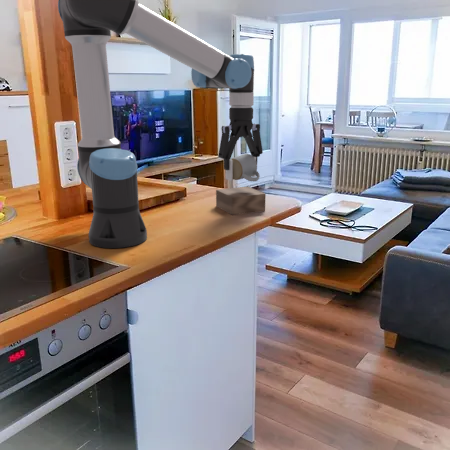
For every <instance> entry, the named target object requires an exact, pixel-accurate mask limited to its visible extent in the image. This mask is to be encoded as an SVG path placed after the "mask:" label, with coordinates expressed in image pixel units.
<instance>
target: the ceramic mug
mask: <svg viewBox="0 0 450 450" xmlns="http://www.w3.org/2000/svg"><path fill="white" fill-rule="evenodd" d="M230 160H233V177H232V181H233V180H234V181H239V180H243V179H245V180H246V181H249V182H258V181H259V179H260V177H261V176H260V172H259V171H258V162H257V163H256V160H255V159H254V157H253V156H252V155H251V153H250V154H249V153H243V154H240V155H237V156H234V157H231V158H230ZM254 175H256V177H252V176H254Z"/></svg>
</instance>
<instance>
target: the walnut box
mask: <svg viewBox="0 0 450 450" xmlns="http://www.w3.org/2000/svg"><path fill="white" fill-rule="evenodd" d="M215 195H216V196H215V197H216V198H215V199H216V200H215V201H216V202H215V203H216V204H215V205H216V206H215V207H217V208H218V209H220V210H222V211H224V212H226V213H228V214H229V215H232V216H236V215H237V216H238V215H243V214H251V213H259V212H266V196H267V195H266V193H265V192H262V191H260V190H258V189H255V188H253V187H250V186H242V187H229V188H220V189H215Z"/></svg>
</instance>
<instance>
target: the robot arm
mask: <svg viewBox="0 0 450 450" xmlns="http://www.w3.org/2000/svg"><path fill="white" fill-rule="evenodd" d="M57 8H58V13H59V17H60V20H61V21H62V24H63V33H64V38H65V40H66V41H67V42H68V43H70V45H71V50H72V58H73V59H72V60H73V67H74V75H75V84H76V92H77V101H78V103H77V104H78V109H79V110H78V111H79V119H80V129H81V130H80V131H81V137H82V138H81V139H80V140H79V142H77V145H76V146H77V151H78V159H77V166H76V169H77V173H78V176H79V178H80V179H81V181H82V183H84V184H85V185H86V186H87V187H89V188H90V189H91V195H92V205H93V215H92V219H91V222H90V227H89V229H88V230H89V231H88V242H89V244H90V245H92V246H94V247H96V248H103V249H121V248H122V249H123V248H129V247H134V246H137V245H140V244H142V243H143V242H145V241H146V240H147V238H148V231H147V228H146V225H145V222H144V220H143V217H142V214H141V212H140V206H139V205H140V204H139V188H138V187H139V186H138V185H139V184H138V164H137V158H136V156H135V154H134V153H133V152H131V150H127V149H122V146H121V141H120V140H119V139H118V138H117V137H116V136H115V131H114V130H115V129H114V118H113V117H114V116H113V109H112V100H111V99H112V97H111V88H110V77H109V74H110V73H109V68H108V67H109V65H108V54H107V43H108V42H109V41H110V40H111V39H112V34H111V31H112V32H113V33H115V34H117V35H120V36H121V35H124V34H126V35H129V36H131V37H133V38H134V39H136V40H137V41H140V42H141V43H143V44H146V45H147V46H149V47H151V48H153V49H155V50H156V51H159V52H160V53H162V54H164V55H166V56H168V57H170V58H172V59H173V60H175V61H177V62H180V63H181V64H183V65H185V66H187V67H188V68H190V69H191V70H190V71H191V72H190V73H191V74H190V75H191V81H192V83H193V85H194V86H195V87H196V88H204V89H206V88H220V89H221V88H222V89H223V88H225V89H228V90H229V91H228V92H229V93H228V94H229V95H228V96H229V97H228V99H229V102H228V105H229V106H230V107H229V113H228V117H229V125H222V126H221V137H220V144H219V149H218V158H220V159H222V160H223V169H224V170H225V180H227V181H230V182H231V181H233V179H232V177H233V160H230V159H232V155H233V153H234V150H235V148H236V145H237V143H238V141H239V139H240V138H244V140H245V142H246V145H247V148H248V150H249V153H250V155H251V156H253V157H254V159H255V160H256V163H257V164H258V158H259V157H261V155H262V154H264V153H263V151H264V150H263V144H262V138H261V132H260V131H261V130H260V129H261V125H260V123H253V119H254V108H253V106H254V98H255V97H254V85H255V84H254V80H255V61H254V56H253V55H252V54H251V53H249V54H248V53H244V54H243V53H232V54H230V55H228V54H227V53H225V52H223V51H222V50H219V49H217V48H216V47H214V46H213V45H211V44H209V43H207V42H206V41H204V40H203V39H201V38H199V37H198V36H195V34H192V33H190V32H189V31H187V30H185V28H184V29H183V28H182V27H180V26H179V25H177V24H175V23H174V22H172V21H171V20H168V19H166V18H165V17H163V16H161V15H160V14H158V13H157V12H155V11H154V10H153V11H152V10H151V9H149V8H148V7H146V6H144V5H143V4H141V3H139V0H58V2H57ZM252 177H257V176H256V175H254V176H252Z"/></svg>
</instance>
